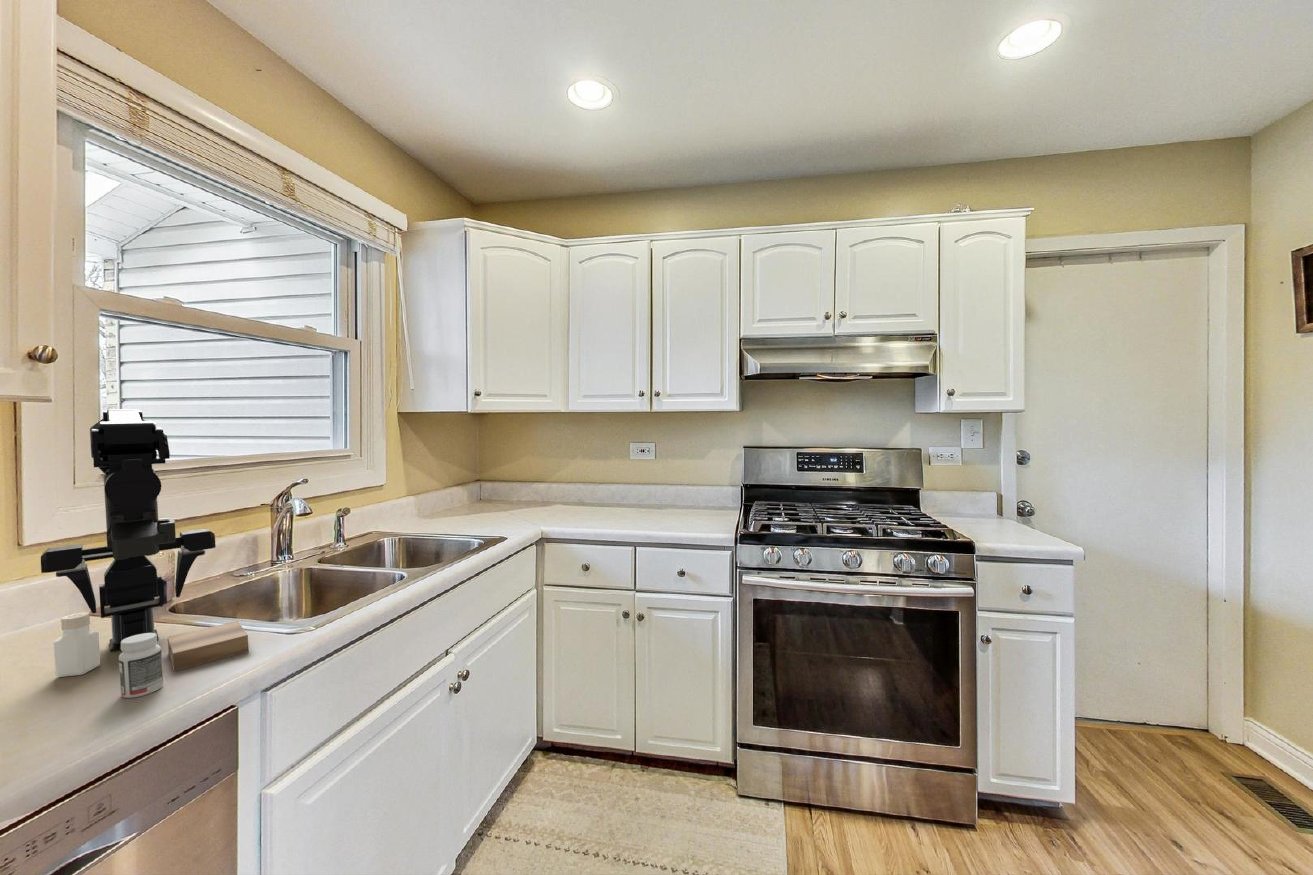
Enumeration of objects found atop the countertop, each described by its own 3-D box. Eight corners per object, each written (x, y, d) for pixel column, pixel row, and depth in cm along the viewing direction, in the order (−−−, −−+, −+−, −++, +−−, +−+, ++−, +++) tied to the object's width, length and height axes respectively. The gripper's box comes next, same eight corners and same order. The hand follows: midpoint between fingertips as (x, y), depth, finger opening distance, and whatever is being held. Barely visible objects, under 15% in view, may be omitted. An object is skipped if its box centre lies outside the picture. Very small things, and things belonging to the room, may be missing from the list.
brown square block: (168, 653, 96) (167, 636, 96) (238, 636, 103) (237, 620, 103) (174, 671, 89) (173, 653, 89) (248, 651, 96) (247, 634, 96)
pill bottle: (171, 682, 85) (168, 630, 85) (144, 698, 81) (141, 643, 80) (140, 683, 85) (138, 631, 85) (111, 699, 81) (108, 644, 80)
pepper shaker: (102, 665, 92) (99, 610, 92) (83, 675, 88) (79, 618, 88) (74, 667, 91) (71, 612, 91) (53, 678, 87) (50, 621, 87)
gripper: (34, 516, 70) (41, 635, 70) (218, 498, 83) (223, 598, 84) (40, 510, 78) (47, 617, 78) (208, 494, 91) (213, 586, 91)
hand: (137, 604), depth 82 cm, fingers open, 9 cm apart
